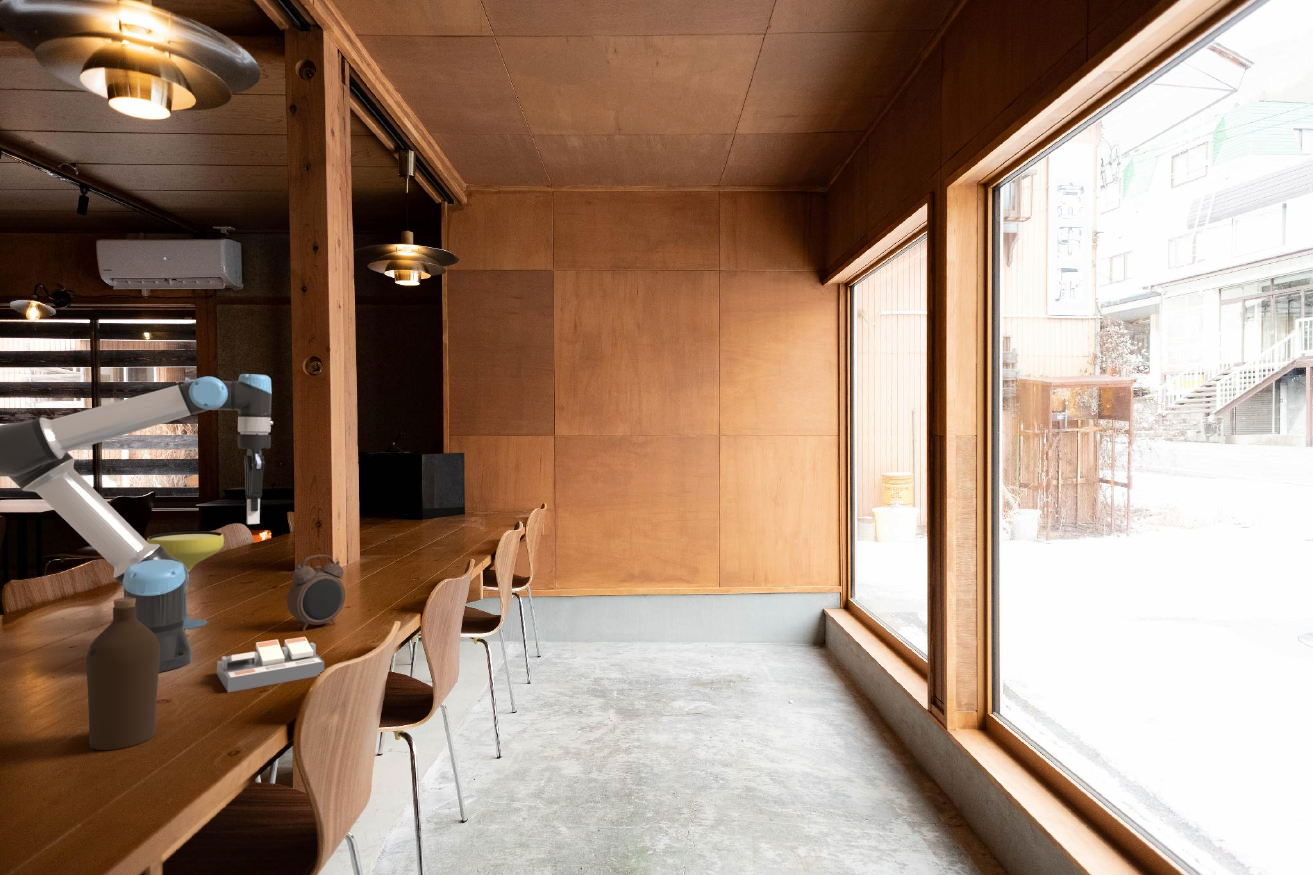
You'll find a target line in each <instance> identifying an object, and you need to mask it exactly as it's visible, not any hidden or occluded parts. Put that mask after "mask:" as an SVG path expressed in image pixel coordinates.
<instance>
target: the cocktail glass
mask: <svg viewBox="0 0 1313 875" xmlns="http://www.w3.org/2000/svg"><path fill="white" fill-rule="evenodd" d="M224 541H225V540H224V534H223V533H222V532H219V531H218V532H217V531H207V530H206V531H200V530H199V531H179V532H166V533H159V534H154V535H150V536H148V537H147V538H146V542H147V543H149V544H159V545H160V546H161V547H162V548H163V549H164V550H165V551H166V552H167V553H168V554H169V555H170V556H171V557H173V558H176V559H177V560H179V561H181V562H182V563H183V564H184V565H185V567H186V569H187V571H188V573H189V572H190V571H191V570H192V569H193V568H194V566H195V565H197V564H198V563H200V562H201V561H203V560H205V559H208V558H209V557H212V556H213V555H215V554H216V553H218V552H220V550H221V549H223V546H224V544H225V543H224ZM187 589H188V588H187ZM187 589H186V591H185V594H184V630H186V629H188V630H193V628H194V629H197V628H202V627H204V626H206V625H207V624H208V621H207V619H199V618H198V619H197V618H193V619H190V618H189V615H188V608H187V607H188V606H187V605H188V604H187V602H188V601H187V600H188V598H187ZM201 626H202V627H201ZM186 631H187V630H186Z"/></svg>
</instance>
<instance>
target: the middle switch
mask: <svg viewBox="0 0 1313 875" xmlns="http://www.w3.org/2000/svg"><path fill="white" fill-rule="evenodd" d="M255 649H256V652H257V653H258V655H259V658H260V661H261V663H262V666H265V665H271V664H277V663H283V662H284V659H285V657H284V655H283V652H282V647H281V645H280V642H279V639H277V638H276V639H272V640H265V641H258V642H255Z"/></svg>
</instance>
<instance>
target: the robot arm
mask: <svg viewBox="0 0 1313 875" xmlns="http://www.w3.org/2000/svg"><path fill="white" fill-rule="evenodd" d="M272 392H273V391H272V379H271V378H270V376H268V375H267V374H257V373H256V374H253V373H251V374H250V373H243V374H242V373H241V374H240V375H238V380H235V381H234V380H232V381H231V380H230V381H229V380H227V381H226V380H220V379H219V378H217V377H214V376H207V375H206V376H203V377H198V378H196V379H186V380H185V381H184V383H181V384H177V385H172V386H170V387H166V388H163V389H159V390H155V391H151V392H148V393H144V394H140V395H137V396H134V397H129V398H126V399H122V400H119V401H115V402H112V403H108V404H105V405H100V406H96V407H93V408H89V409H86V410H83V411H78V412H75V413H71V414H68V415H67V414H66V415H65V416H61V417H57V418H54V419H49V418H46V417H39V418H36V419H35V418H34V419H31V420H27V421H22V422H17V423H16V422H15V423H5V424H0V476H5V477H8V478H9V479H10V480H11V481H12V482H14V484H15V485H17V486H18V487H19V488H20V489H21V490H22V491H24V492H34V493H36V494H37V495H38V496H40V497H41V498H42V499H43V501H45V502H46V504H48V505H49V506H50V507H51V508H52V509H53V510H54V511H55V512H56V513H57V514H58V515H59V516H60V517H61V518H62V519H64V520H65V521H66V522H67V524H69V526H70V527H72V528H73V529H74V530H75V532H77V533H78V534H79V535H80V536H81V537H82V538H83V539H84V540H85V541H86V542H87V543H88V544H89V545H90V546H91V547H92V548H94V550H95V551H97V553H98V554H99V555H100V556H102V558H104V559H105V560H106V561H107V562H108V563H109V564H110V565H111V566H112V567H113V569H114V571H113V578H114V579H115V581H116V582H118V583H119V584H120V585H121V586H122V587H123V598H124V597H134V598H136V602H135V605H136V606H137V607H136V619H137V620H138V621H139V622H140V623H142V624H143V625H144V626H146V627H147V628H148V629H149V630H151V631H152V632H153V633H154V634H155V635H156V637H157V639H158V641H159V644H160V661H159V673H162V672H166V671H171V670H175V669H178V668H181V667H184V666H185V665H186V666H187V664H189V663H191V662H192V661H193V649H192V647H191V646H192V645H191V644H190V641H189V639H188V637H187V633H186V631H185V630H184V594H185V591H186V589H188V586H189V580H190V575H189V572H188V571H187V569H186V567H185V565H184V564H183V563H182V562H181V561H179V560H177V559H176V558H173V557H171V556H170V555H169V554H168V553H167V552H166V551H165V550H164V549H163V548H162V547H161V546H160V545H159V544H149V543H147V540H145V538H143V536H142V535H140V533H139V532H138V531H137V530H136V529H134V527H132V526H131V525H130V523H129V522H127V521H126V520H125V518H123V517H122V516H121V515H120V514H119V512H117V510H115V509H114V507H113V506H111V505H110V504H109V503H108V502H107V500H105V498H103V497H102V495H101V494H99V493H98V492H97V491H96V490H95V488H93V487H92V486H91V484H90V483H88V481H86V480H85V479H84V478H83V476H81V474H79V472H77V471H76V469H75V468H74V466H75V465H74V464H75V458H74V457H73V456H72V455H71V454H70V453H69V452H72V451H74V450H78V449H81V448H85V447H89V446H92V445H95V444H99V443H102V442H104V441H108V440H111V439H116V438H118V437H121V436H125V435H128V434H131V433H134V432H138V431H142V430H145V429H148V428H151V427H156V426H159V425H162V424H166V423H169V422H172V421H176V420H178V419H182V418H185V417H188V416H191V415H196V414H199V413H205V412H207V411H209V410H211V411H217V410H218V411H238V417H237V431H238V433H240V434H238V435H237V447H238V449H244V450H245V449H246V455H244V460H243V463H244V480H245V481H244V485H245V493H244V494H245V500H246V524H247V525H257V524H260V523H261V522H260V520H261V519H260V516H261V515H260V514H261V509H260V508H261V498H262V497H263V483H264V482H263V481H264V469H265V464H266V462H265V456H264V455H263V453H262V452H263V451H262V450H266V449H267V450H268V449H270V448H271V445H272V442H271V441H272V440H271V439H272V437H271V435H270V434H269V433H271V429H272V427H271V426H272V425H273V424H274V421H272V396H273V395H272Z"/></svg>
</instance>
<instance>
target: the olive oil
mask: <svg viewBox="0 0 1313 875" xmlns="http://www.w3.org/2000/svg"><path fill="white" fill-rule="evenodd" d="M135 602H136V598H134V597H124V596H123V597H120V598H119V597H118V598H115V599H113V605H114V606H113V608H112V621H111V622H110V624H109V625H108V626H107V627H105V629H104V630H102V631H101V632H100V634H98V635H97V637H95V639H94V640H93V641H92V642H91V644H90V645H89V648H88V651H87V653H86V656H85V658H86V659H85V666H86V682H87V683H86V684H87V703H88V734H89V737H88V739H89V740H88V743H89V747H90V748H91V749H94V750H98V751H112V750H114V751H115V750H120V749H126V748H130V747H133V746H137V745H140V744H142V743H145V742H146V741H148V740H150V739H152V737H154V735H155V734H156V732H155V731H156V719H157V718H156V716H157V700H158V699H157V697H158V685H159V684H158V683H159V673H160V672H159V661H160V644H159V641H158V639H157V637H156V635H155V634H154V633H153V632H152V631H151V630H149V629H148V628H147V627H146V626H144V625H143V624H142V623H140V622H139V621H138V620H137V619H136V607H137V606H136V605H135Z"/></svg>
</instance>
